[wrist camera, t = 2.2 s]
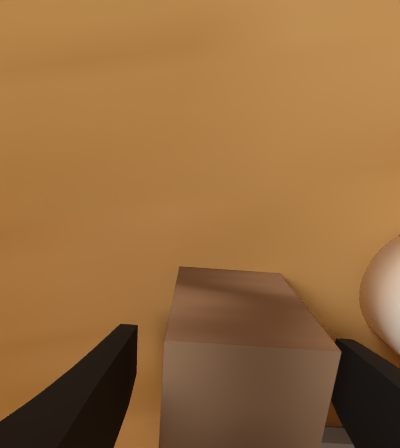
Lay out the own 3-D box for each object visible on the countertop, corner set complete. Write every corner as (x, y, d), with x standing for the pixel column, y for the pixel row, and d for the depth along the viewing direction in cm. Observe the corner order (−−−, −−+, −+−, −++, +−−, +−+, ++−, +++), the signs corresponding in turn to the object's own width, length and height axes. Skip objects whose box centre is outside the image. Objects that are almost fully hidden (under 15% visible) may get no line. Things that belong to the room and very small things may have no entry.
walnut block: (174, 353, 12) (157, 477, 7) (179, 266, 11) (164, 340, 6) (266, 358, 12) (311, 485, 7) (279, 272, 11) (341, 351, 6)
